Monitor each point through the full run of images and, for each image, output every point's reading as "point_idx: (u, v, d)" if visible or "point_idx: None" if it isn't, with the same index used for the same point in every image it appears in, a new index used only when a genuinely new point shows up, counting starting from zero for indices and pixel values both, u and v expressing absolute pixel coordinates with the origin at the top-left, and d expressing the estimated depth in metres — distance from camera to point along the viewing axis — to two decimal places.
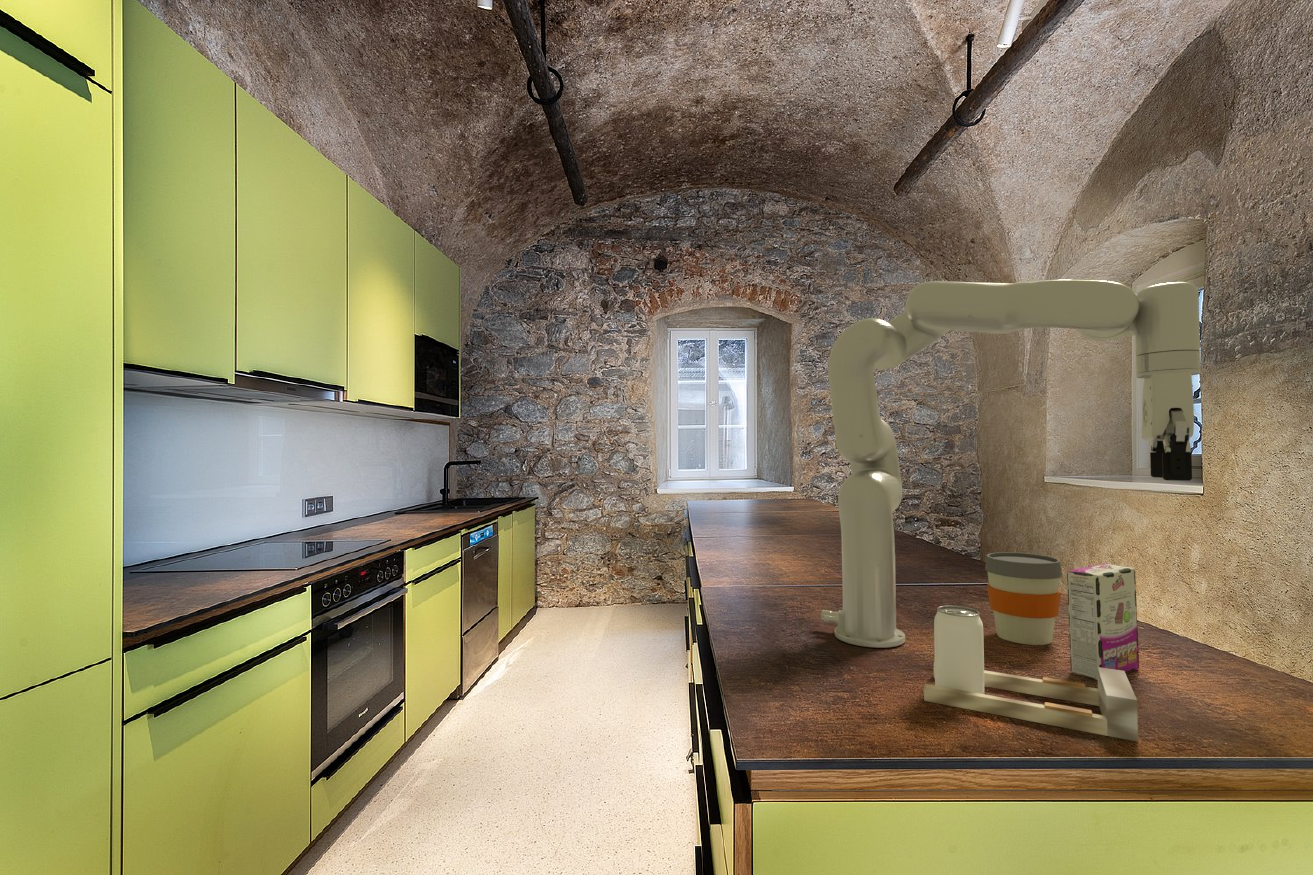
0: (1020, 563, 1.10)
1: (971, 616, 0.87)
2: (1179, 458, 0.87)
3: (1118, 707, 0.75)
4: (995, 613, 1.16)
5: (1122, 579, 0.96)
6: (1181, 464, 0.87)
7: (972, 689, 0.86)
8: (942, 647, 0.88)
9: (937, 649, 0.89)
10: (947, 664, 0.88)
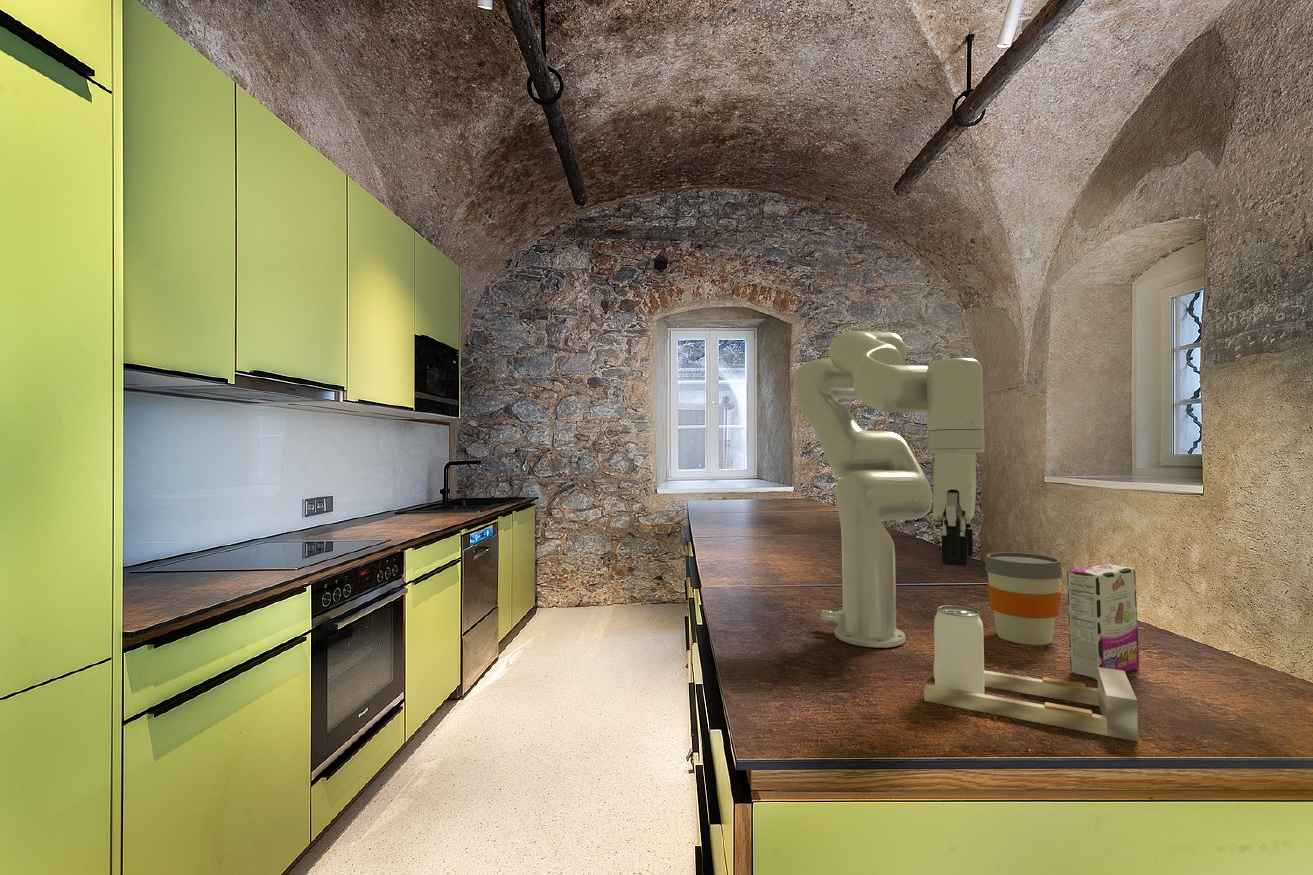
0: (1020, 563, 1.10)
1: (971, 616, 0.87)
2: (955, 542, 0.85)
3: (1118, 707, 0.75)
4: (995, 613, 1.16)
5: (1123, 579, 0.96)
6: (956, 549, 0.84)
7: (972, 689, 0.86)
8: (942, 647, 0.88)
9: (937, 649, 0.89)
10: (947, 663, 0.88)
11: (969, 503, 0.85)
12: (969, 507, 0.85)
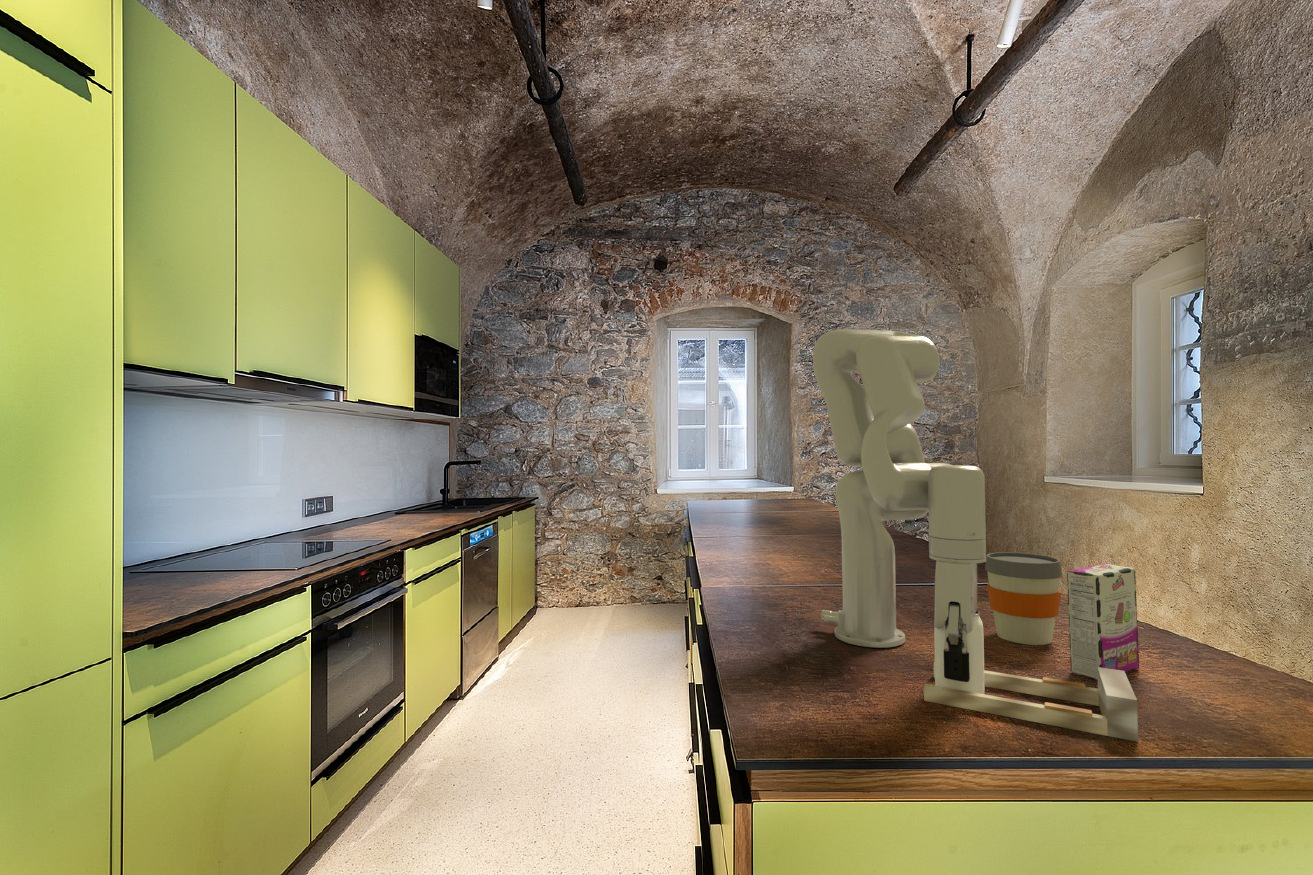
0: (1020, 563, 1.10)
1: None
2: (957, 659, 0.85)
3: (1118, 707, 0.75)
4: (995, 613, 1.16)
5: (1122, 579, 0.96)
6: (958, 665, 0.85)
7: (972, 689, 0.86)
8: (942, 647, 0.88)
9: (937, 649, 0.89)
10: None
11: (970, 616, 0.85)
12: (970, 620, 0.85)
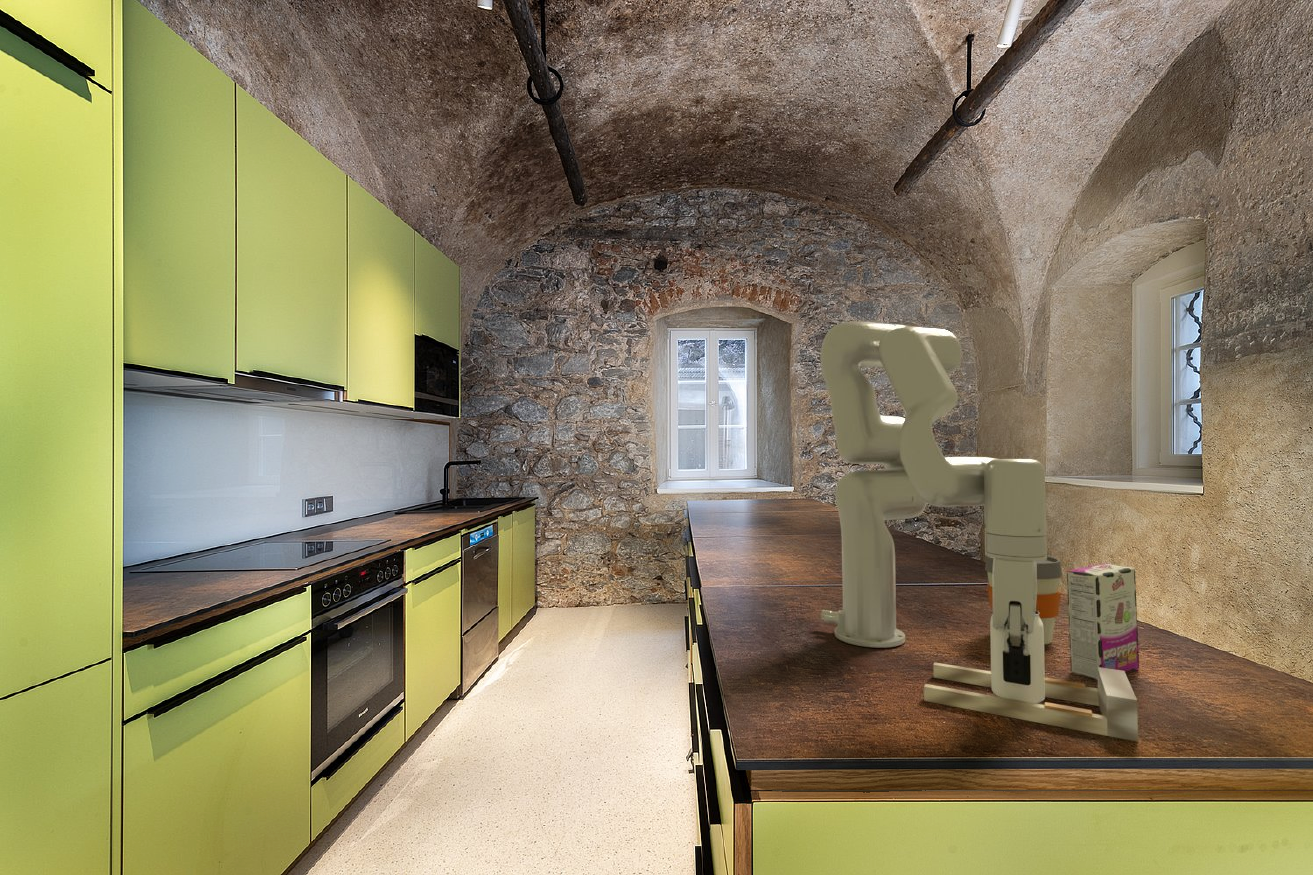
0: None
1: None
2: (1017, 661, 0.82)
3: (1118, 707, 0.75)
4: None
5: (1122, 579, 0.96)
6: (1019, 668, 0.82)
7: (1033, 693, 0.82)
8: (1000, 648, 0.84)
9: (994, 651, 0.85)
10: None
11: (1032, 616, 0.81)
12: (1032, 620, 0.81)
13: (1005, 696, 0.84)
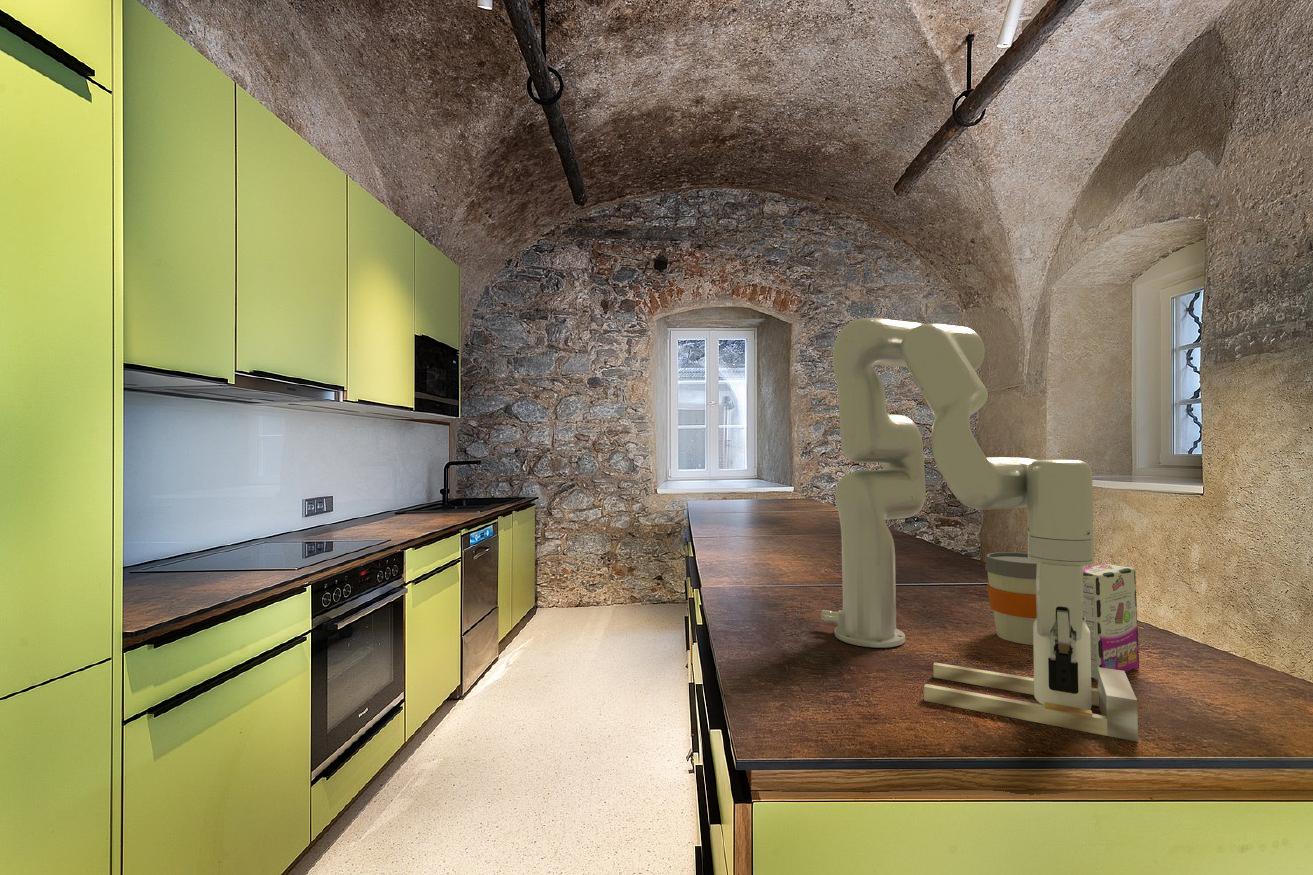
0: (1020, 563, 1.10)
1: None
2: (1064, 668, 0.79)
3: (1118, 707, 0.75)
4: (995, 613, 1.16)
5: (1123, 579, 0.96)
6: (1066, 676, 0.79)
7: (1080, 701, 0.80)
8: (1045, 655, 0.82)
9: (1039, 658, 0.83)
10: None
11: (1081, 623, 0.78)
12: (1081, 627, 0.78)
13: None
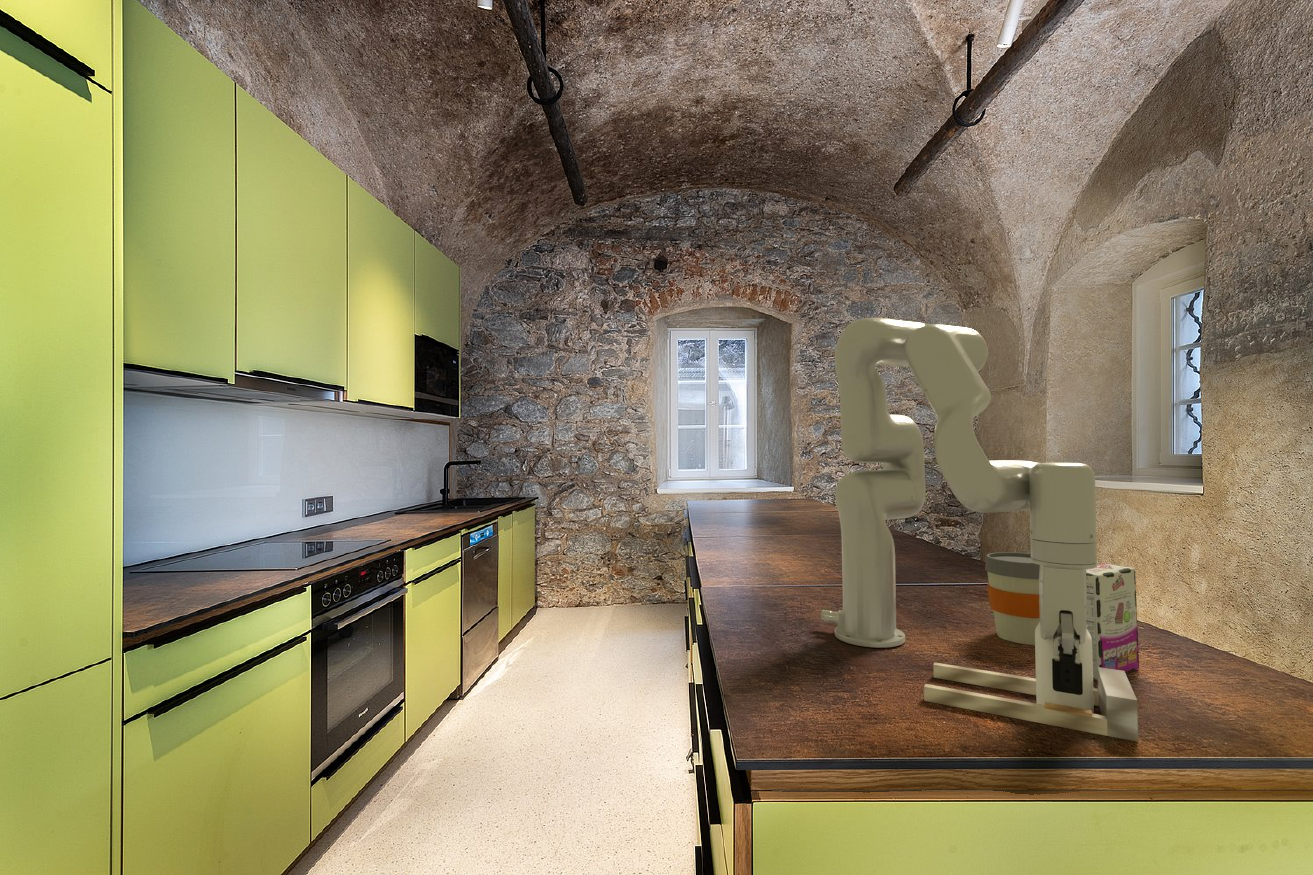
0: (1020, 563, 1.10)
1: None
2: (1068, 669, 0.78)
3: (1118, 707, 0.75)
4: (995, 613, 1.16)
5: (1122, 579, 0.96)
6: (1070, 676, 0.78)
7: (1082, 708, 0.80)
8: (1046, 662, 0.82)
9: (1040, 665, 0.83)
10: None
11: (1084, 626, 0.78)
12: (1084, 631, 0.78)
13: None
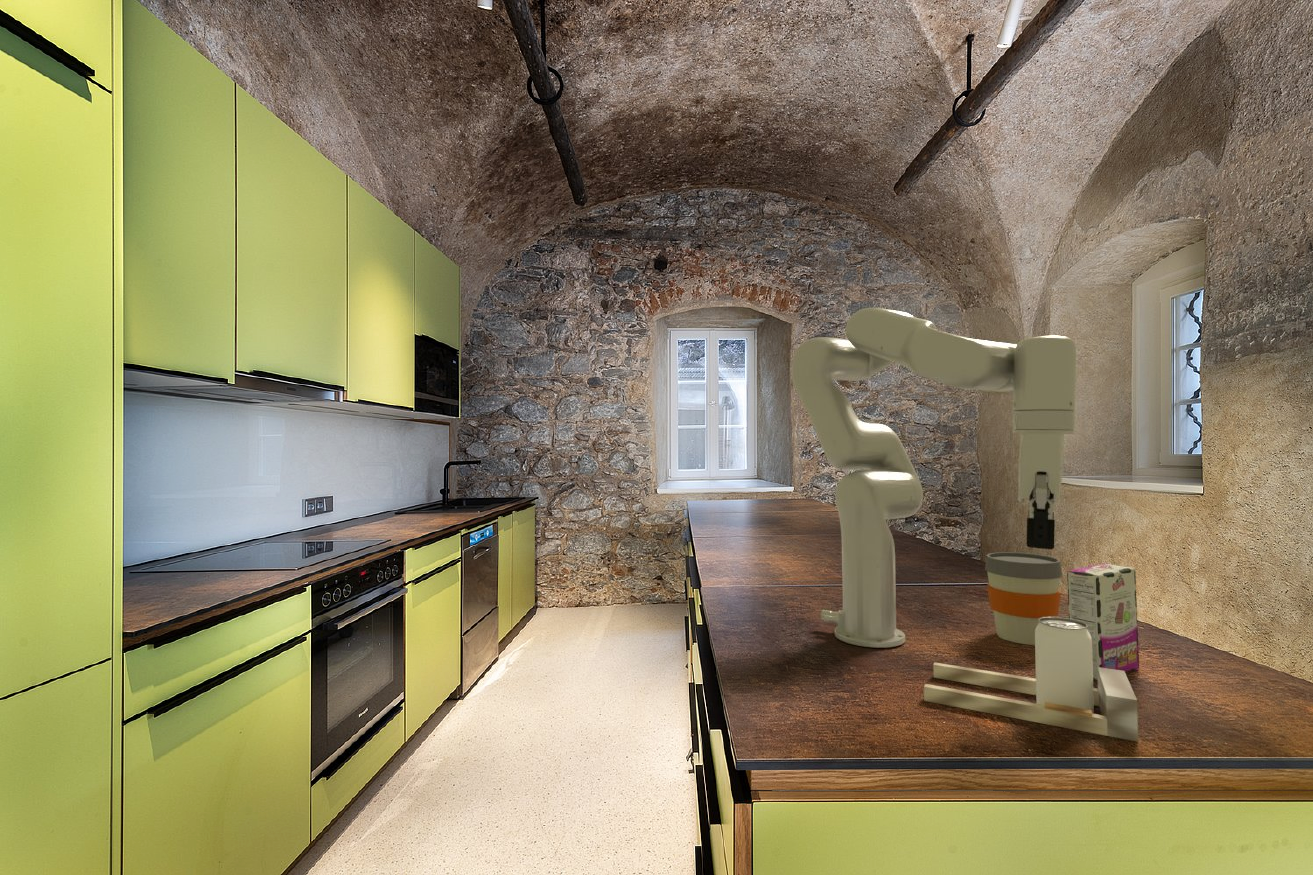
0: (1020, 563, 1.10)
1: (1080, 629, 0.80)
2: (1042, 525, 0.83)
3: (1118, 707, 0.75)
4: (995, 613, 1.16)
5: (1123, 579, 0.96)
6: (1043, 532, 0.83)
7: (1082, 708, 0.80)
8: (1046, 662, 0.82)
9: (1040, 665, 0.83)
10: (1053, 680, 0.81)
11: (1058, 486, 0.83)
12: (1058, 490, 0.83)
13: None
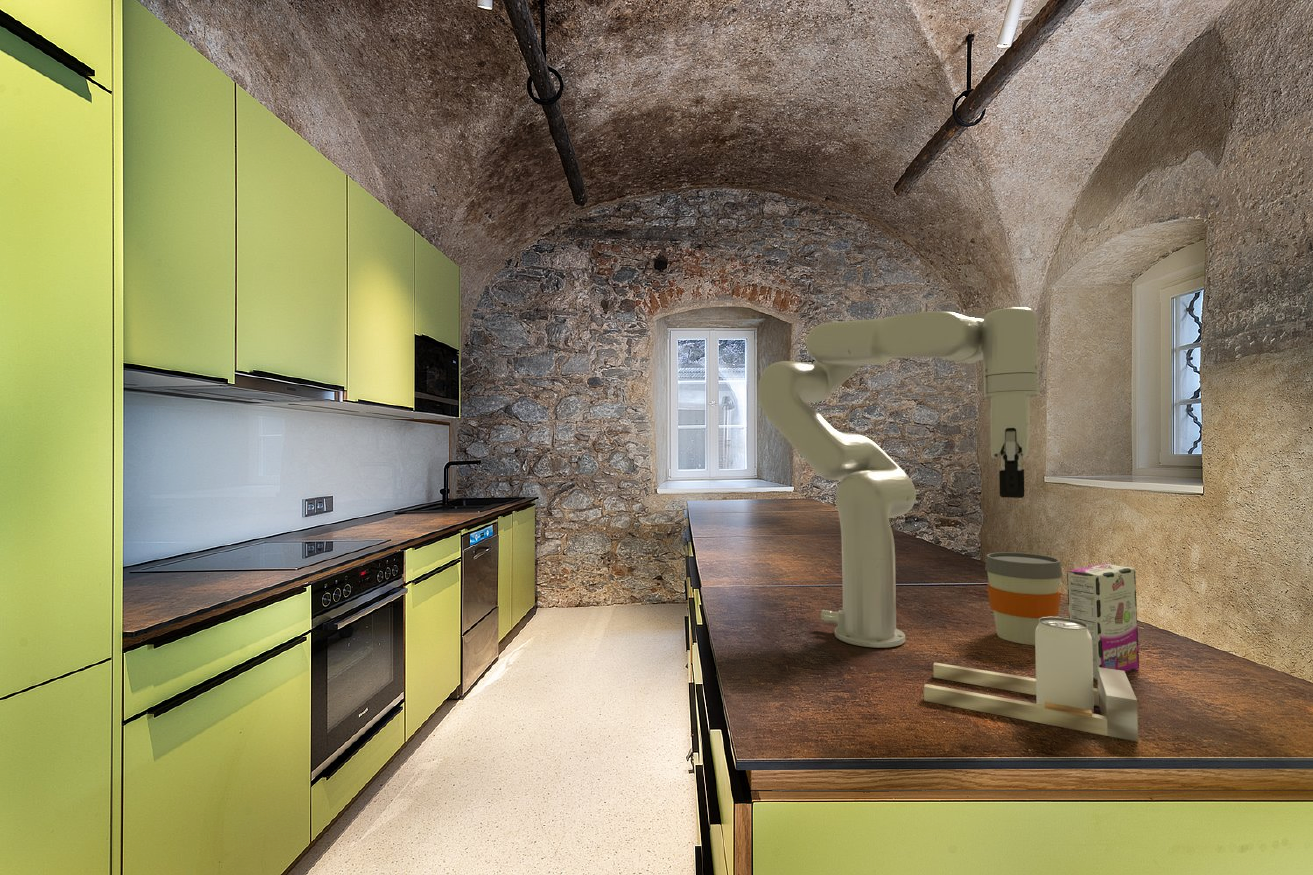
0: (1020, 563, 1.10)
1: (1080, 629, 0.80)
2: (1012, 476, 0.92)
3: (1118, 707, 0.75)
4: (995, 613, 1.16)
5: (1122, 579, 0.96)
6: (1014, 482, 0.91)
7: (1082, 708, 0.80)
8: (1047, 662, 0.82)
9: (1041, 664, 0.83)
10: (1053, 680, 0.81)
11: (1026, 440, 0.92)
12: (1026, 444, 0.92)
13: None
